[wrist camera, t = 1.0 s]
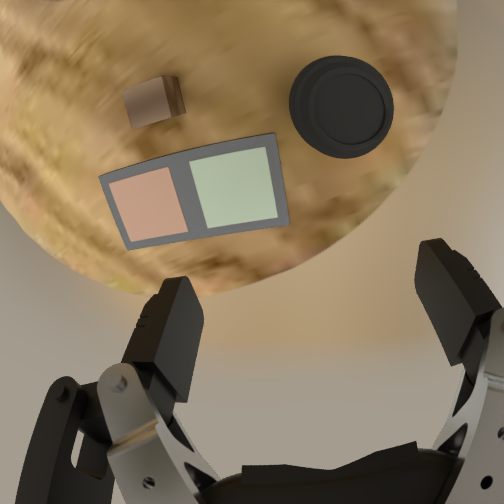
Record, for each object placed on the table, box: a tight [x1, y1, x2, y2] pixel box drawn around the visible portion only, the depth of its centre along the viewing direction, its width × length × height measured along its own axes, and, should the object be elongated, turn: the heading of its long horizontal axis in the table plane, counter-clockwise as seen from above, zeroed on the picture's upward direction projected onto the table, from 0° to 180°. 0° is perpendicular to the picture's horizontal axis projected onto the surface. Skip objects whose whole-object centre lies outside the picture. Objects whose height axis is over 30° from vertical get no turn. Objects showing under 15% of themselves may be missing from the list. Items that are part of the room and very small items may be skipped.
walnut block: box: [122, 76, 186, 130], centre depth 29 cm, size 5×5×6 cm
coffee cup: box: [289, 56, 394, 159], centre depth 25 cm, size 9×9×15 cm
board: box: [99, 133, 290, 250], centre depth 39 cm, size 13×26×1 cm, turn 101°
